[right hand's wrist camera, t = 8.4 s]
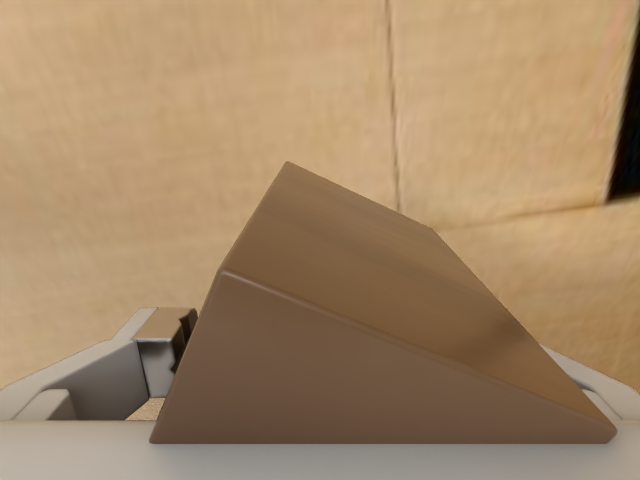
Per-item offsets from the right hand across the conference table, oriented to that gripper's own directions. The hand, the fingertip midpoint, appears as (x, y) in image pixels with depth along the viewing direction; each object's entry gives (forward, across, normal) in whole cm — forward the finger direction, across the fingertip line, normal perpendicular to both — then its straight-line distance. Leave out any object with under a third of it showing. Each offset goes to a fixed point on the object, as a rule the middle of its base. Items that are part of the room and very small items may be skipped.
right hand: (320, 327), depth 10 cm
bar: (+3, -4, -9) cm, 11 cm away
